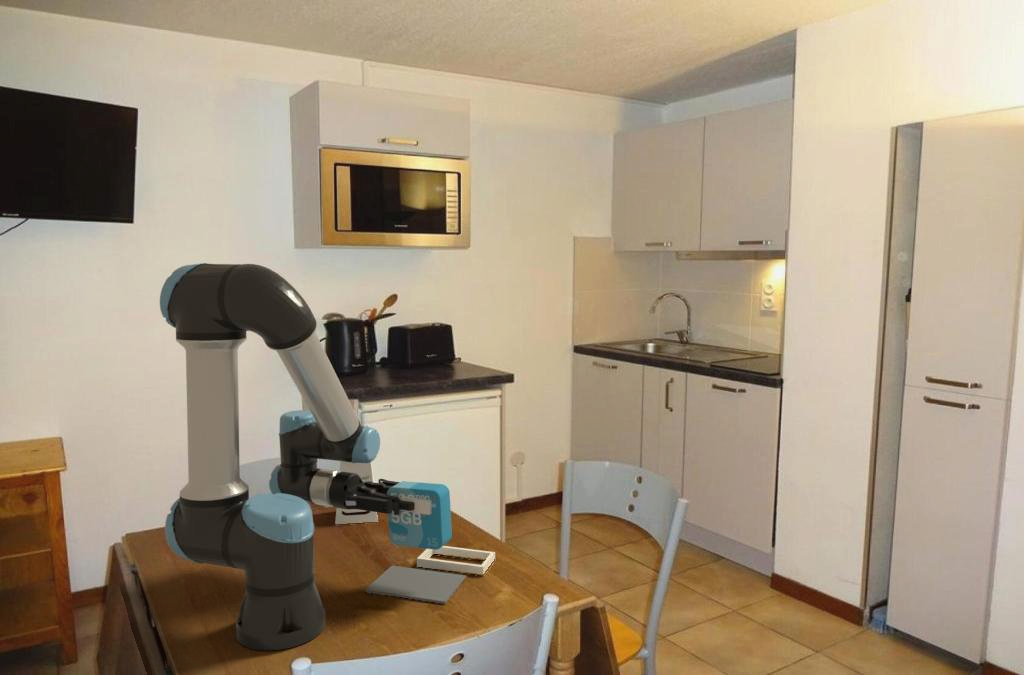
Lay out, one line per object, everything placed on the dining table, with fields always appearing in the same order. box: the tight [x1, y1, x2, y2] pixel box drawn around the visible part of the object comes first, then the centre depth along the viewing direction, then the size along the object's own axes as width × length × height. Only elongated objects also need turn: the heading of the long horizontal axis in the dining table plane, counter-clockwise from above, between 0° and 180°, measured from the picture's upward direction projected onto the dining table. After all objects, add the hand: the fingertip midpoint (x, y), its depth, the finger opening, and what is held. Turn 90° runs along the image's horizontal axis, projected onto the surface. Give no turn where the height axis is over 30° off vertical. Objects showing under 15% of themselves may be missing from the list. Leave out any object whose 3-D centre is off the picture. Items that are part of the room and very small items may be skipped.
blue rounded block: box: [387, 480, 453, 550], centre depth 142 cm, size 12×4×12 cm, turn 69°
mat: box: [364, 565, 467, 605], centre depth 144 cm, size 12×17×1 cm
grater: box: [334, 461, 379, 525], centre depth 182 cm, size 10×10×20 cm
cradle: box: [416, 545, 496, 574], centre depth 154 cm, size 8×15×2 cm, turn 74°
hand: (436, 503), depth 141 cm, fingers closed on blue rounded block, 4 cm apart
